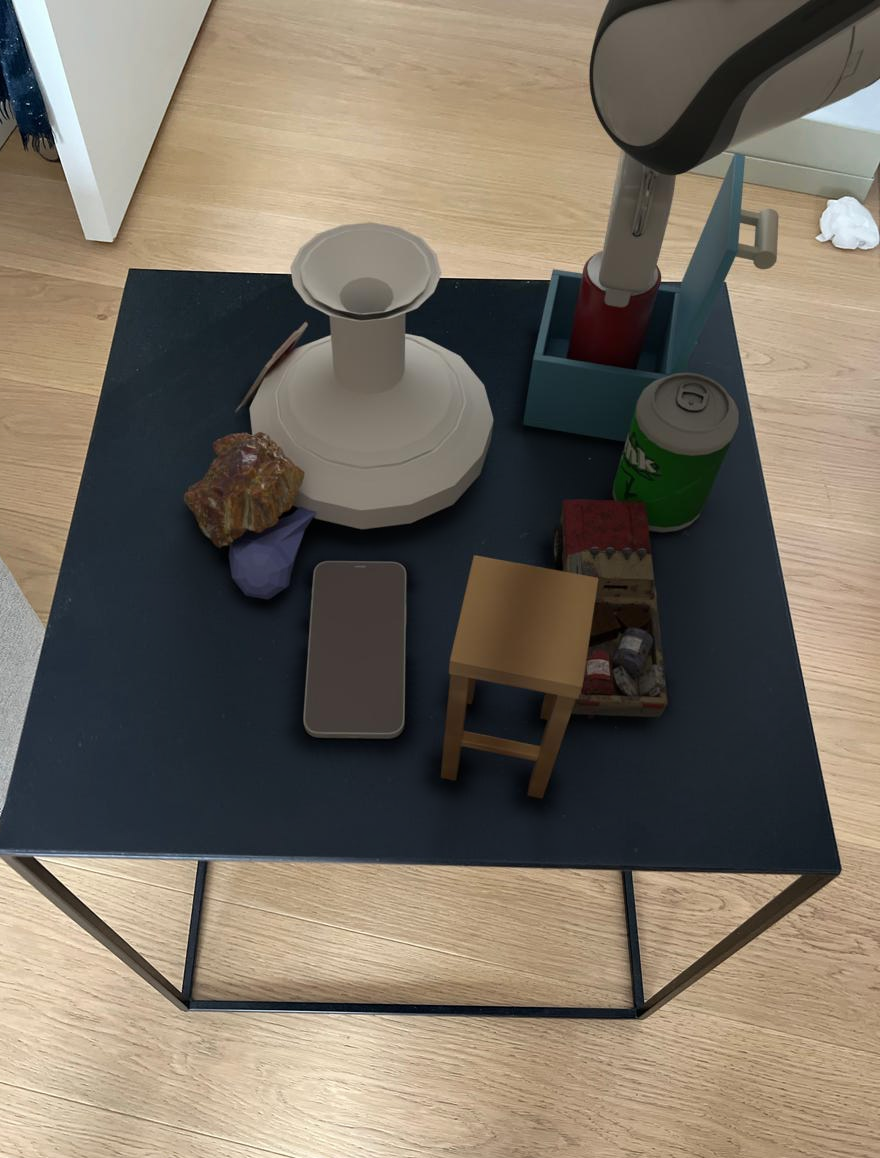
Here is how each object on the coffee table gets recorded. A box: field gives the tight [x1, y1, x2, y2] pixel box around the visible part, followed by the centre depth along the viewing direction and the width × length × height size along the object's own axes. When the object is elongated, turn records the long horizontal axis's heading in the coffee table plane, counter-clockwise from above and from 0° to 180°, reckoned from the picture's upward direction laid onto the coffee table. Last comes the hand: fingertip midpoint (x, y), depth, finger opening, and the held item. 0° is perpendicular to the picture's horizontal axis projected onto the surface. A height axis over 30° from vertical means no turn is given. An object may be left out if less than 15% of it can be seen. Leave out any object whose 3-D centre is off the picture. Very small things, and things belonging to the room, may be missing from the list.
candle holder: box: [249, 222, 495, 530], centre depth 77 cm, size 20×20×19 cm
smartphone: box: [303, 560, 407, 740], centre depth 75 cm, size 7×1×15 cm
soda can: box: [612, 372, 740, 533], centre depth 78 cm, size 8×8×12 cm
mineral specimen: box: [183, 431, 305, 549], centre depth 77 cm, size 12×8×7 cm, turn 39°
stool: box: [440, 555, 598, 799], centre depth 64 cm, size 8×8×17 cm
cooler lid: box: [670, 152, 779, 375], centre depth 76 cm, size 12×11×4 cm
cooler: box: [522, 268, 681, 443], centre depth 86 cm, size 11×11×8 cm
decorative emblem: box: [234, 321, 309, 414], centre depth 86 cm, size 10×1×10 cm
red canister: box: [566, 250, 662, 370], centre depth 84 cm, size 6×6×12 cm
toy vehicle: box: [552, 499, 669, 719], centre depth 73 cm, size 7×18×8 cm, turn 178°
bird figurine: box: [228, 507, 317, 600], centre depth 77 cm, size 8×6×6 cm
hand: (622, 260), depth 77 cm, fingers open, 8 cm apart
